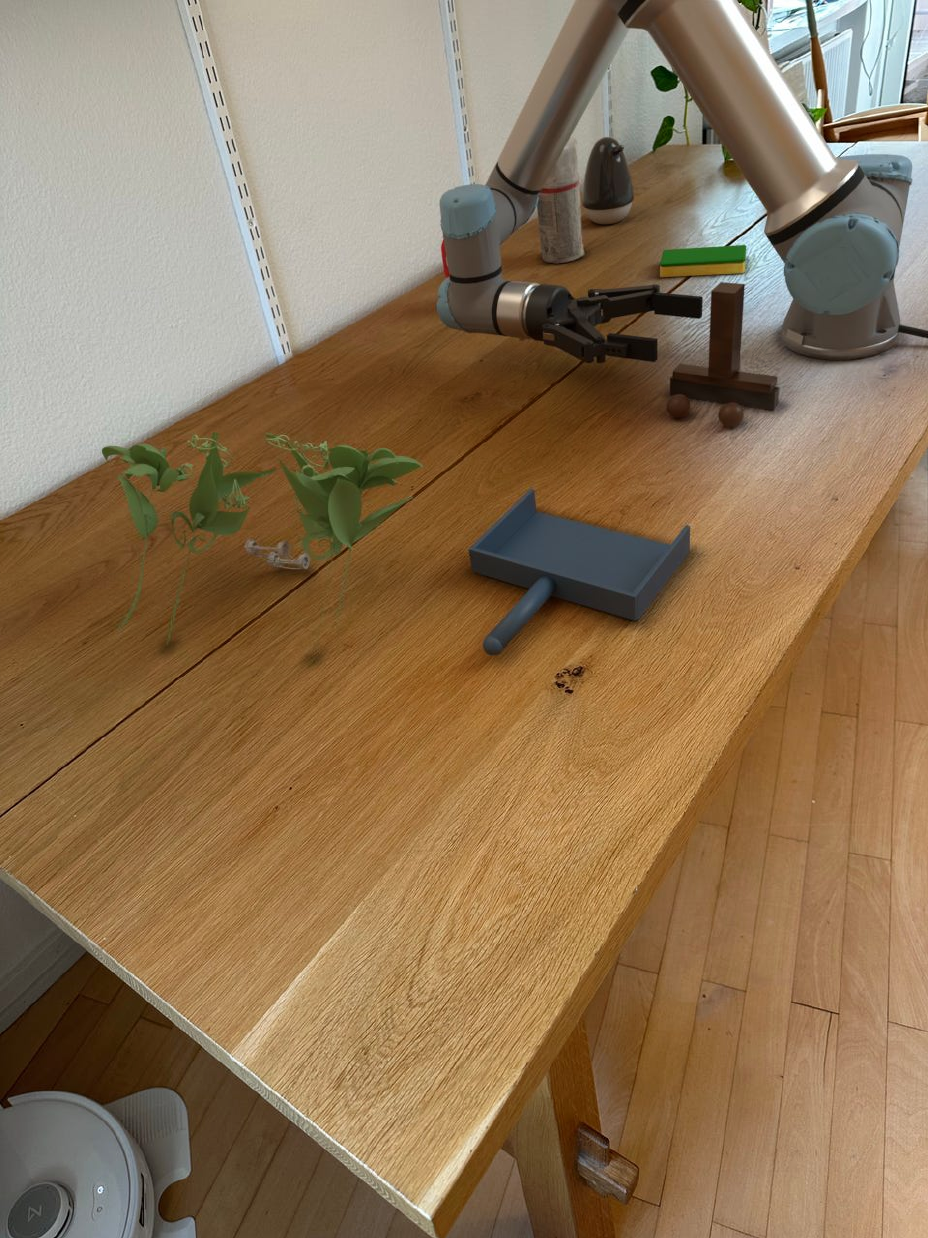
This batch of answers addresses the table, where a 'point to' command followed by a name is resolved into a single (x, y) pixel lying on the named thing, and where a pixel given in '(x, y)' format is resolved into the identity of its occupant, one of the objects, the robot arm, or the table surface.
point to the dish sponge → (703, 261)
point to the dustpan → (571, 566)
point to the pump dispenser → (607, 183)
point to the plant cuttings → (321, 495)
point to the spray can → (561, 210)
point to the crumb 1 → (678, 406)
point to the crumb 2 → (731, 414)
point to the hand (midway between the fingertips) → (679, 328)
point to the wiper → (725, 360)
